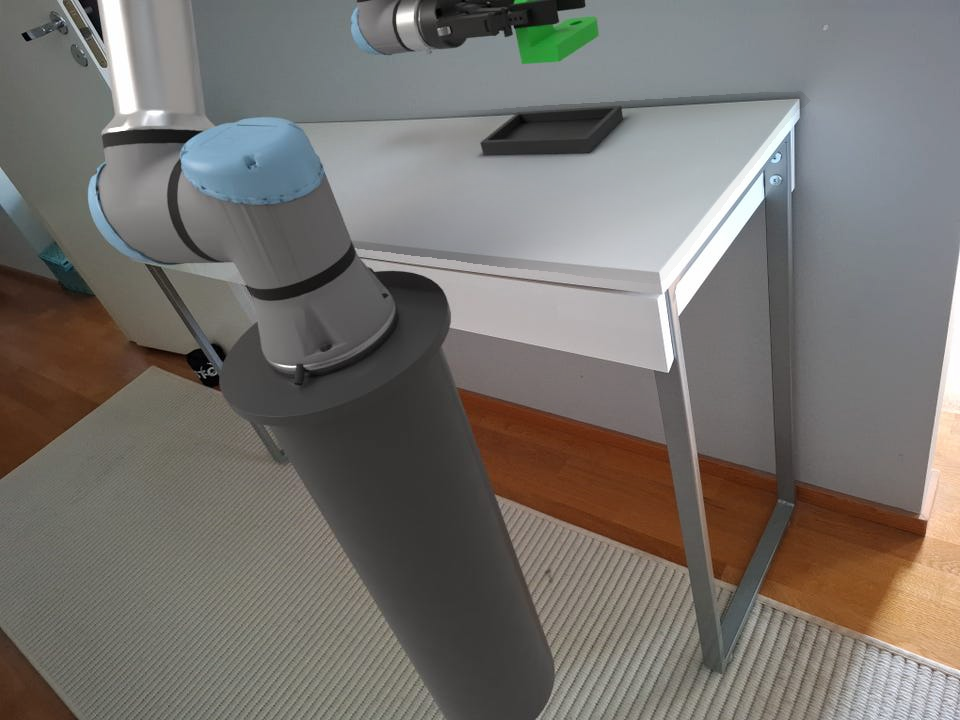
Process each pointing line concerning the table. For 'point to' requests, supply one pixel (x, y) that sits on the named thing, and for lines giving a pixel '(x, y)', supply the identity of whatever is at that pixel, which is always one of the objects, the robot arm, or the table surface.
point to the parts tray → (553, 131)
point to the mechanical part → (554, 39)
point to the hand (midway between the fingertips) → (569, 3)
